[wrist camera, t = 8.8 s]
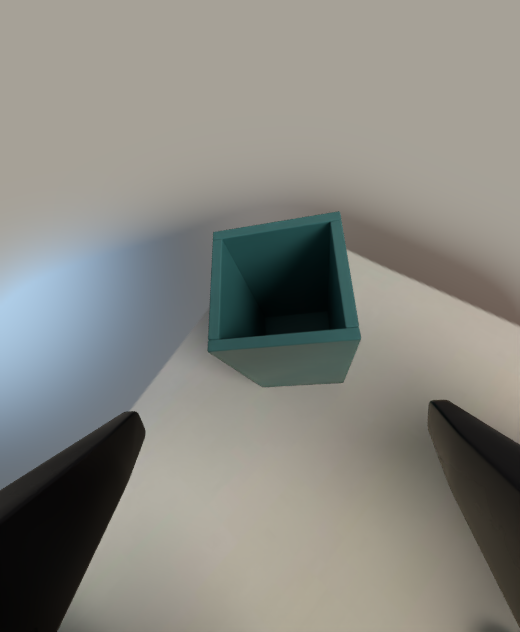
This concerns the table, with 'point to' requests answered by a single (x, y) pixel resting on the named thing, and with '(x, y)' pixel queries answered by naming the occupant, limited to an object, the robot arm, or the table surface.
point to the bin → (284, 302)
